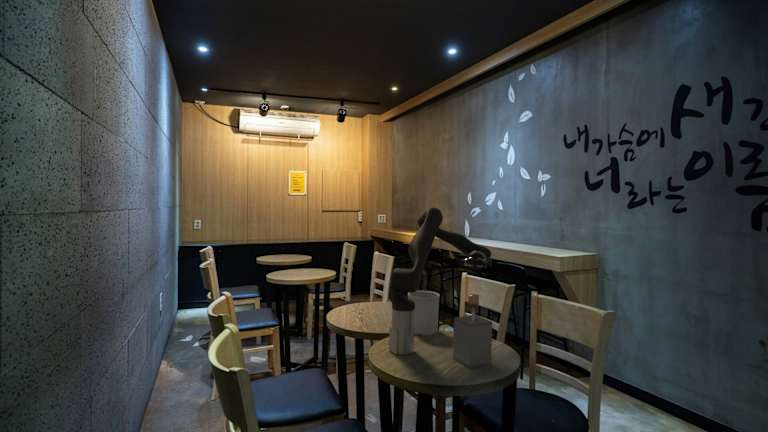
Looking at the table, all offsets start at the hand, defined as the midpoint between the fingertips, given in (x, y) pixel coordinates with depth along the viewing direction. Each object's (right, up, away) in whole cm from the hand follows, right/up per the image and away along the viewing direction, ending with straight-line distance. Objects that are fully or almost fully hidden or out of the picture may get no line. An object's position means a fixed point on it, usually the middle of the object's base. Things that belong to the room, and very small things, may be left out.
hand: (472, 264), depth 171 cm
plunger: (-3, -33, -15) cm, 36 cm away
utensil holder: (-19, -34, +23) cm, 45 cm away
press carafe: (-3, -35, -15) cm, 38 cm away
